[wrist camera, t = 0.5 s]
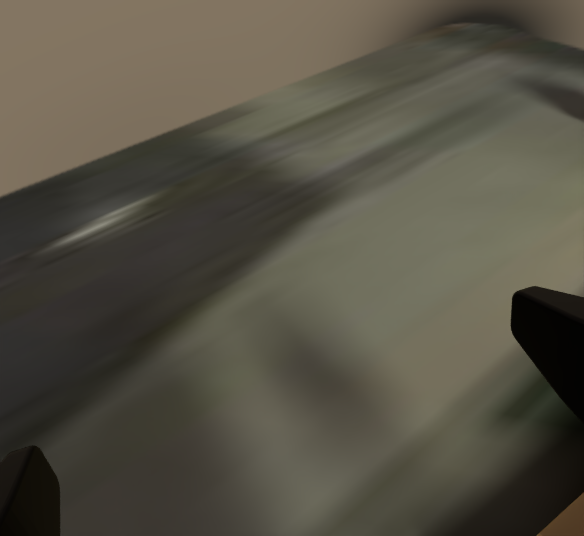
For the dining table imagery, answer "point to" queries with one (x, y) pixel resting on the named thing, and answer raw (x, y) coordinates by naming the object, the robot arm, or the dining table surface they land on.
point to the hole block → (568, 521)
